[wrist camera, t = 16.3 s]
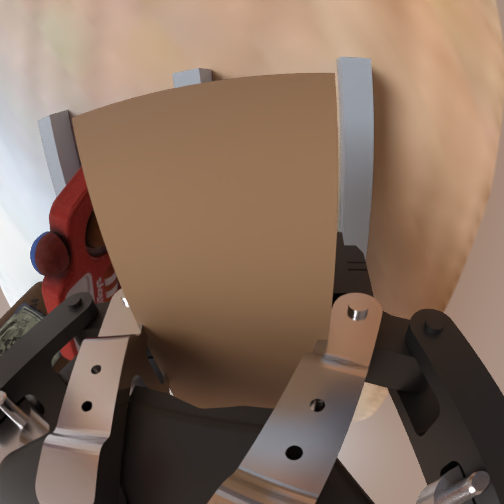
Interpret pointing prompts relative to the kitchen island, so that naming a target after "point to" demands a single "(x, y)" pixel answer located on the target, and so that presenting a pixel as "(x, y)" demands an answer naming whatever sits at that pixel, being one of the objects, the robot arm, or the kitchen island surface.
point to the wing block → (221, 226)
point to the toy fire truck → (73, 253)
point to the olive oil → (26, 322)
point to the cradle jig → (352, 144)
